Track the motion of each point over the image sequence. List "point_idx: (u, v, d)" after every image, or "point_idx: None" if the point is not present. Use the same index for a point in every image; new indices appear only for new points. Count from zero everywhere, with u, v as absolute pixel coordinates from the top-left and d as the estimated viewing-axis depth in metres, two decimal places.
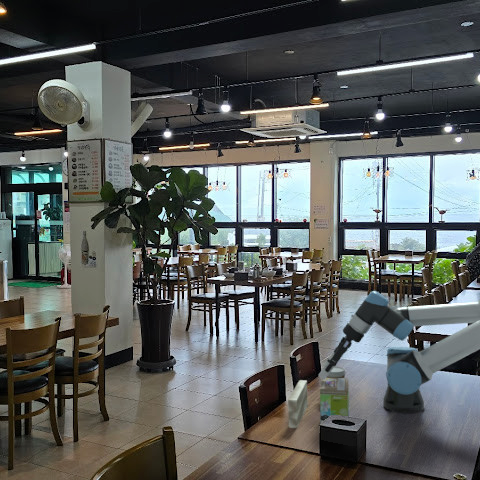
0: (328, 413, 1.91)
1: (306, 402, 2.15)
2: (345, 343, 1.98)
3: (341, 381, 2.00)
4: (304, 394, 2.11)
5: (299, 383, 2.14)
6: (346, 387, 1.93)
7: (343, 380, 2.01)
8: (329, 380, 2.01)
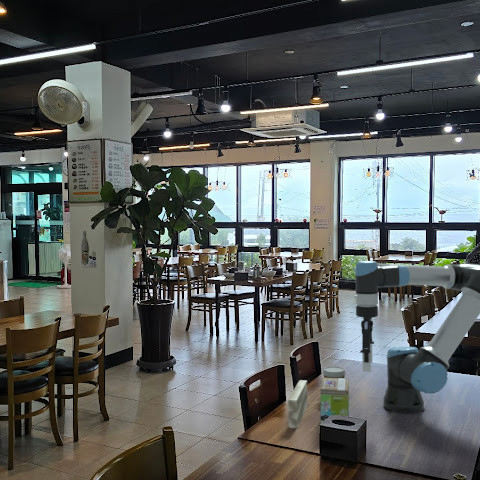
0: (328, 413, 1.91)
1: (306, 402, 2.15)
2: (364, 325, 1.88)
3: (341, 381, 2.00)
4: (304, 394, 2.11)
5: (299, 383, 2.14)
6: (346, 387, 1.93)
7: (343, 380, 2.01)
8: (329, 380, 2.01)
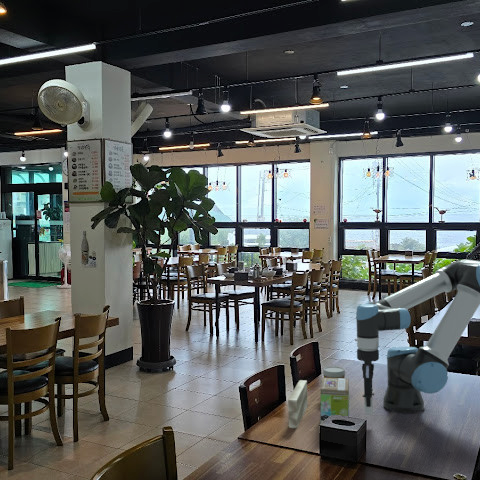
0: (328, 413, 1.91)
1: (306, 402, 2.15)
2: (366, 375, 1.89)
3: (341, 381, 2.00)
4: (304, 394, 2.11)
5: (299, 383, 2.14)
6: (346, 387, 1.93)
7: (343, 380, 2.01)
8: (329, 380, 2.01)
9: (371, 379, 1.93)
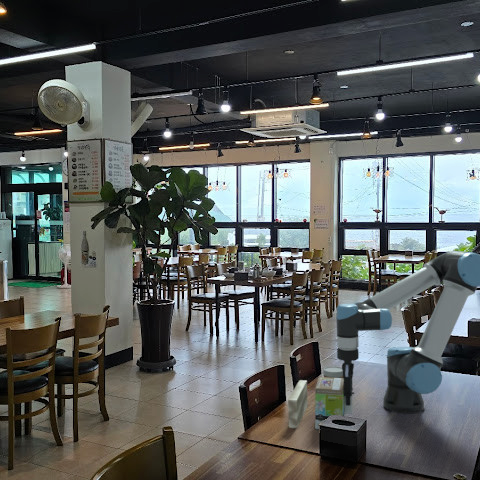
0: (323, 412, 1.92)
1: (306, 402, 2.15)
2: (345, 374, 1.91)
3: (337, 380, 2.01)
4: (304, 394, 2.11)
5: (299, 383, 2.14)
6: (341, 387, 1.93)
7: (339, 380, 2.01)
8: (325, 380, 2.02)
9: (351, 378, 1.95)
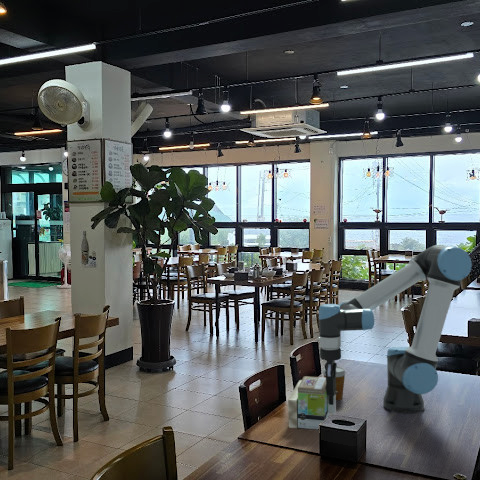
0: (305, 411, 1.94)
1: None
2: (327, 374, 1.92)
3: (321, 380, 2.02)
4: None
5: (299, 383, 2.14)
6: (324, 386, 1.94)
7: (323, 379, 2.03)
8: (309, 379, 2.03)
9: (333, 378, 1.96)
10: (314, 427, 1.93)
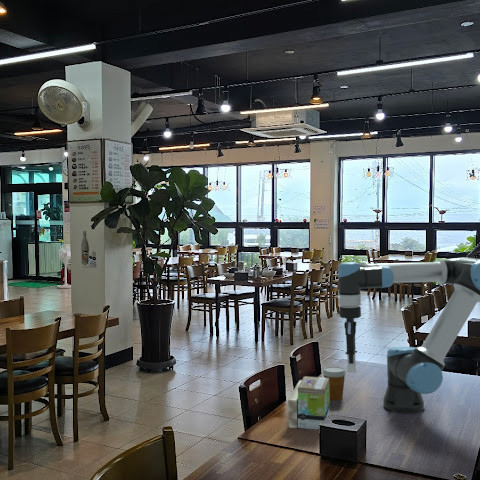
0: (305, 411, 1.94)
1: None
2: (348, 331, 1.90)
3: (321, 380, 2.02)
4: None
5: (299, 383, 2.14)
6: (324, 386, 1.94)
7: (323, 379, 2.03)
8: (309, 379, 2.03)
9: (353, 336, 1.94)
10: (314, 427, 1.93)
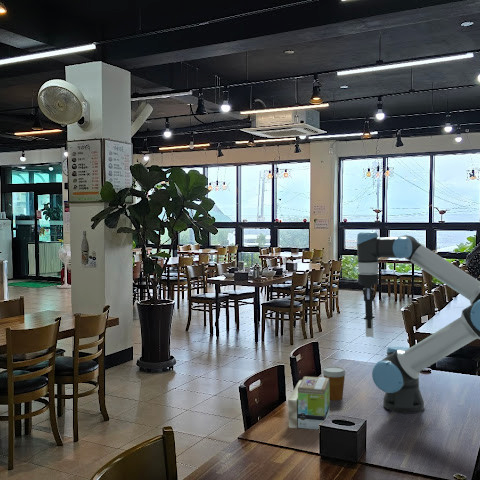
0: (305, 411, 1.94)
1: None
2: (367, 297, 1.99)
3: (321, 380, 2.02)
4: None
5: (299, 383, 2.14)
6: (324, 386, 1.94)
7: (323, 379, 2.03)
8: (309, 379, 2.03)
9: None
10: (314, 427, 1.93)
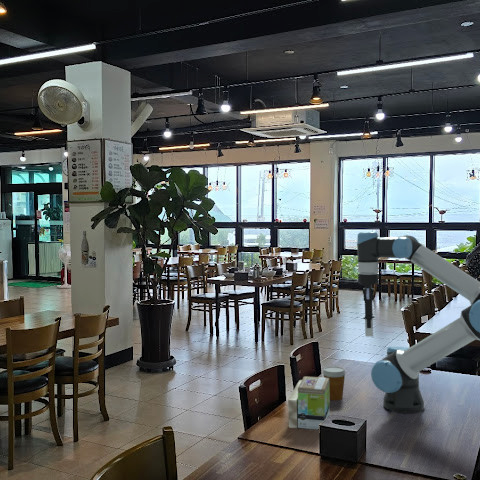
0: (305, 411, 1.94)
1: None
2: (366, 297, 2.00)
3: (321, 380, 2.02)
4: None
5: (299, 383, 2.14)
6: (324, 386, 1.94)
7: (323, 379, 2.03)
8: (309, 379, 2.03)
9: None
10: (314, 427, 1.93)
